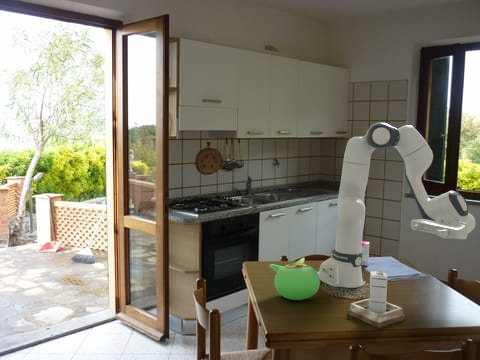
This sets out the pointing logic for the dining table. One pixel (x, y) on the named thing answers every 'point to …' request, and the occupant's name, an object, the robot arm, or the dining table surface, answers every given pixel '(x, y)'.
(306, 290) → the toy bird
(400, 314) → the socket stand
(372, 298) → the syrup box
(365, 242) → the supplement box
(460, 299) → the dining table surface
